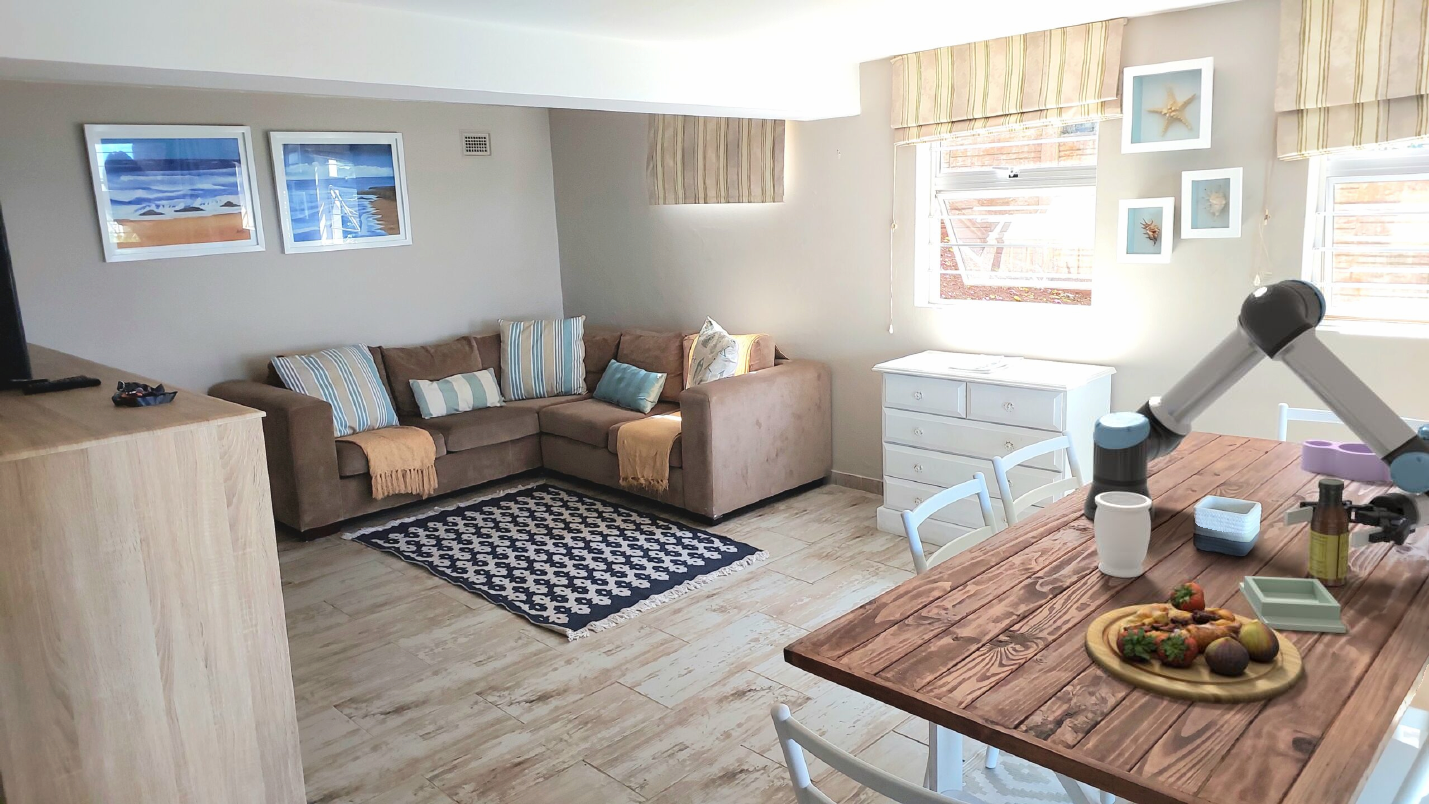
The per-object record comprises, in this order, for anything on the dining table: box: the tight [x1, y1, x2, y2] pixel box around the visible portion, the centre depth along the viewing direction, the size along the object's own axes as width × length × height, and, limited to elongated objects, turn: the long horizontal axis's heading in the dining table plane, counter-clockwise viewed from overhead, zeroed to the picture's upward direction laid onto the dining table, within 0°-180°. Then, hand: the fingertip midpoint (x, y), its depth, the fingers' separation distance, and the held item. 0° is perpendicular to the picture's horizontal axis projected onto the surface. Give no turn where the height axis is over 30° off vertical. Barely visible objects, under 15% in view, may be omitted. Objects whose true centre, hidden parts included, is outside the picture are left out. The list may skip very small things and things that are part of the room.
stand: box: [1238, 575, 1347, 634], centre depth 171 cm, size 12×18×4 cm, turn 165°
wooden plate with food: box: [1084, 582, 1304, 705], centre depth 156 cm, size 32×32×8 cm
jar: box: [1093, 492, 1153, 579], centre depth 191 cm, size 11×10×15 cm
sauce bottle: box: [1307, 477, 1350, 587], centre depth 180 cm, size 7×6×20 cm
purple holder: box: [1300, 439, 1393, 483], centre depth 246 cm, size 20×12×7 cm, turn 46°
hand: (1318, 529), depth 179 cm, fingers open, 13 cm apart
